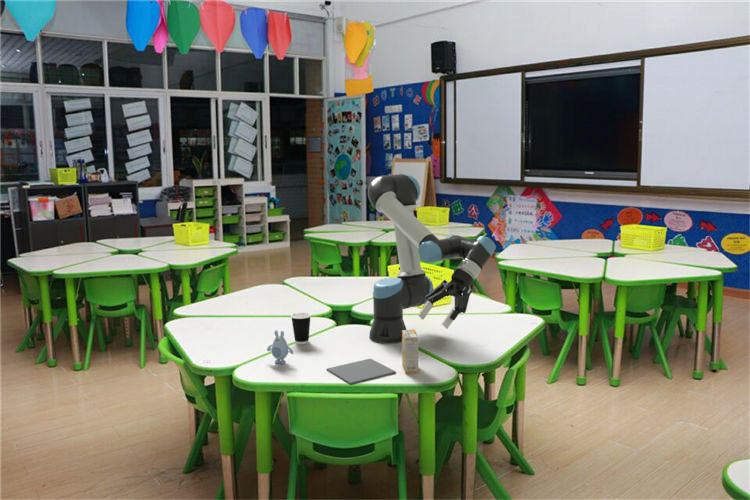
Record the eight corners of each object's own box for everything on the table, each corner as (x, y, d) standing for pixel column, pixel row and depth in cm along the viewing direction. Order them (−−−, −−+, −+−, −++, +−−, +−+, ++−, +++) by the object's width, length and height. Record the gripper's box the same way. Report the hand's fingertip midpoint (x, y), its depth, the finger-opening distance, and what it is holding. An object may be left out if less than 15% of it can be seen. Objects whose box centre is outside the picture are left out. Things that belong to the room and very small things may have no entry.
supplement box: (401, 365, 227) (401, 329, 225) (415, 365, 228) (415, 329, 226) (404, 374, 219) (404, 337, 217) (418, 373, 220) (418, 336, 217)
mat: (370, 360, 234) (370, 358, 234) (395, 373, 220) (395, 371, 220) (326, 370, 224) (326, 368, 224) (350, 384, 211) (350, 382, 211)
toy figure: (263, 364, 231) (261, 331, 229) (271, 358, 237) (270, 326, 235) (289, 367, 227) (288, 334, 225) (297, 361, 233) (296, 329, 231)
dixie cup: (315, 343, 253) (314, 316, 251) (295, 346, 250) (294, 319, 248) (307, 338, 260) (306, 311, 258) (288, 341, 257) (287, 314, 255)
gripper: (437, 262, 240) (405, 308, 234) (483, 273, 219) (449, 323, 214) (448, 274, 244) (417, 319, 238) (495, 286, 223) (461, 336, 218)
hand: (432, 321), depth 226 cm, fingers open, 13 cm apart
